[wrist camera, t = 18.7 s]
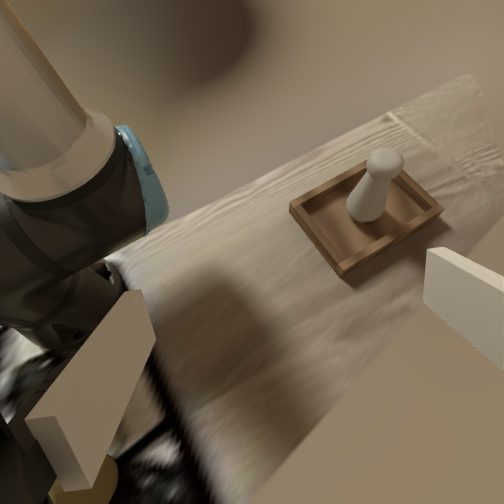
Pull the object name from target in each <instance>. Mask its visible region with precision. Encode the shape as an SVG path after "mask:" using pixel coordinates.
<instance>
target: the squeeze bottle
mask: <svg viewBox="0 0 504 504" xmlns="http://www.w3.org/2000/svg"><path fill="white" fill-rule="evenodd" d="M117 482H118V469H117V465H116V463H115V461H114V459H113V458H112V457H111V456H109V455H108V454H106V456H105V459H104V461H103V463H102V466H101V468H100V470H99V472H98V475H97V477H96V479H95V482H94V484H93V486H92V488H91V489H83V490H76V491H68V492H64V490H63V488H62V487H61V485H60V483H59V481H58V479H57V478H56V480H55V482H54V484H53V486H52V488H51V489H50V491H49V493H48V494H49V496H50V498H51V499H52V501H53V504H108V503H109V501H110V499H111V497H112V495H113V493H114V492H115V490H116V488H117Z"/></svg>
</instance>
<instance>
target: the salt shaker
mask: <svg viewBox="0 0 504 504" xmlns="http://www.w3.org/2000/svg"><path fill="white" fill-rule="evenodd" d="M403 165H404V160H403V157H402V155H401V154H400V153H399V152H398V151H396V150H395V149H393V148H388V147H384V148H378V149H376V150H375V151H373V152H372V153H371V155H370V157H369V158H368V160H367V163H366V166H367V172H366V173H365V175H364V176H363V177H362V179H361V180H360V182H359V183H358V184H357V186H356V187H355V188H354V190H353V191H352V192H351V193H350V195H349V197H348V198H347V200H346V209H347V211H348V213H349V214H350V218H351V219H352V220H354V221H356V222H358V223H360V224H362V223H365V222H370V221H374V220H375V219H377V218H379V217H380V216H381V215H382V213H383V211H384V209H385V205H386V200H387V196H388V191H389V187H390V182H391V179H393V178H395V177H397V176H398V174H399V173H400V171H401V169H402V168H403Z"/></svg>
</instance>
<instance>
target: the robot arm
mask: <svg viewBox="0 0 504 504" xmlns="http://www.w3.org/2000/svg"><path fill="white" fill-rule="evenodd" d="M168 215H169V205H168V202H167V199H166V196H165V193H164V191H163V188H162V186H161V183H160V181H159V179H158V177H157V175H156V173H155V171H154V170H153V167H152V165H151V163H150V161H149V158H148V156H147V154H146V152H145V150H144V148H143V146H142V145H141V143H140V141H139V139H138V138H137V136H136V135H135V133H134V132H133V131H132V129H131V128H130V127H128V126H126V125H123V126H116V127H114V126H113V124H112V123H111V121H110V120H109V119H108V118H107V117H106V116H105V115H104V114H102V113H101V112H98V111H96V110H93V109H89V108H84V107H81V106H80V105H79V103H78V102H77V100H76V99H75V98H74V96H73V94H72V93H71V92H70V90H69V89H68V87H67V86H66V85H65V83H64V82H63V80H62V79H61V78H60V76H59V75H58V73H57V72H56V70H55V69H54V67H53V66H52V65H51V63H50V62H49V61H48V59H47V57H46V56H45V55H44V53H43V52H42V50H41V49H40V48H39V46H38V45H37V44H36V42H35V40H34V39H33V38H32V36H31V35H30V33H29V32H28V30H27V29H26V28H25V26H24V25H23V23H22V22H21V20H20V19H19V18H18V16H17V15H16V13H15V12H14V11H13V9H12V8H11V6H10V5H9V3H8V2H7V1H6V0H0V325H1V326H7V327H11V328H14V329H16V330H17V331H18V332H19V333H21V334H22V335H23V336H24V337H26V338H27V339H28V340H30V341H31V342H32V343H34V344H35V345H37V346H40V347H42V348H46V349H52V350H58V351H69V350H75V349H78V348H80V349H79V351H78V352H77V353H76V354H75V356H74V357H72V358H67V359H66V360H64V361H63V362H62V363H61V364H59V365H58V366H57V367H55V368H54V369H53V370H52V371H51V372H50V374H49V375H48V376H47V377H46V378H45V380H44V381H43V384H40V386H39V387H38V388H37V389H36V390H35V393H34V394H32V395H31V396H30V398H29V399H28V400H27V401H26V402H25V404H24V405H23V406H22V407H21V408H20V410H19V411H18V412H17V413H16V414H15V416H14V417H13V418H12V419H11V420H10V422H9V423H8V424H7V423H6V421H5V420H4V418H3V416H2V415H1V413H0V504H53V501H52V499H51V498H50V496H49V494H48V493H49V491H50V489H51V488H52V486H53V484H54V482H55V480H56V478H57V479H58V481H59V483H60V485H61V487H62V488H63V490H64V492H68V491H76V490H83V489H91V488H92V486H93V484H94V482H95V479H96V477H97V475H98V472H99V470H100V468H101V466H102V463H103V461H104V459H105V456H106V454H107V452H108V449H109V447H110V445H111V442H112V440H113V438H114V436H115V433H116V431H117V429H118V426H119V424H120V422H121V419H122V417H123V415H124V412H125V410H126V408H127V405H128V403H129V401H130V399H131V396H132V394H133V392H134V389H135V387H136V385H137V382H138V380H139V378H140V375H141V373H142V371H143V368H144V366H145V364H146V362H147V359H148V357H149V355H150V352H151V350H152V348H153V345H154V343H155V341H156V337H155V333H154V330H153V327H152V323H151V320H150V317H149V313H148V310H147V307H146V304H145V300H144V297H143V294H142V290H133V291H126V292H124V293H123V284H122V280H121V277H120V275H119V273H118V271H117V270H116V269H115V267H114V266H112V265H111V264H110V263H109V262H107V261H106V260H104V259H103V258H105V257H106V256H108V255H110V254H112V253H114V252H116V251H117V250H119V249H121V248H123V247H125V246H127V245H129V244H130V243H132V242H134V241H136V240H138V239H140V238H141V237H144V236H146V235H147V234H148V233H149V232H150V231H152V230H153V229H155V228H156V227H158V226H159V225H161V224H162V223H164V222H165V221H166V220H167V218H168ZM423 303H424V304H426V305H427V306H428V307H429V308H430V309H431V310H433V311H434V312H435V313H436V314H437V315H438V316H440V317H441V318H442V319H443V320H444V321H445V322H447V323H448V324H449V325H450V326H451V327H452V328H453V329H455V330H456V331H457V332H458V333H459V334H461V335H462V336H463V337H464V338H465V339H466V340H467V341H468V342H470V343H471V344H472V345H473V346H474V347H475V348H477V349H478V350H479V351H480V352H481V353H482V354H484V355H485V356H486V357H487V358H488V359H489V360H490V361H492V362H493V363H494V364H495V365H496V366H497V367H499V368H500V369H501V370H502V371H503V372H504V277H503V276H501V275H499V274H497V273H495V272H492V271H491V270H489V269H487V268H485V267H483V266H481V265H479V264H477V263H475V262H473V261H471V260H469V259H467V258H465V257H463V256H461V255H459V254H457V253H455V252H453V251H451V250H449V249H447V248H445V247H439V248H432V249H427V256H426V268H425V281H424V294H423Z"/></svg>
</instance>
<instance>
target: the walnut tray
mask: <svg viewBox="0 0 504 504" xmlns="http://www.w3.org/2000/svg"><path fill="white" fill-rule="evenodd" d="M367 160H368V159H367ZM367 160H366V161H364V162H362V163H360V164H358V165H356V166H355V167H353V168H351V169H349V170H347V171H346V172H344V173H342V174H340V175H338V176H336V177H335V178H333V179H331V180H329V181H327V182H325V183H324V184H322V185H320V186H318V187H316V188H314V189H313V190H311V191H309V192H307V193H305V194H303V195H302V196H300V197H298V198H296V199H294V200H292V201H291V202H290V205H289V212H290V214H291V215H292V216H293V218H294V219H295V220H296V222H297V223H298V224H299V226H300V227H301V228H302V229H303V231H304V232H305V233H306V235H307V236H308V237H309V239H310V240H311V241H312V242H313V244H314V245H315V246H316V248H317V249H318V250H319V252H320V253H321V254H322V255H323V257H324V258H325V259H326V261H327V262H328V263H329V265H330V266H331V267H332V268H333V270H334V271H335V272H336V274H337V275H338V276H339V277H341V276H343V275H344V274H346V273H348V272H349V271H351V270H353V269H354V268H356V267H357V266H359V265H361V264H362V263H364V262H366V261H367V260H369V259H371V258H372V257H374V256H376V255H377V254H379V253H380V252H382V251H384V250H385V249H387V248H389V247H390V246H392V245H394V244H395V243H397V242H399V241H400V240H402V239H403V238H405V237H407V236H408V235H410V234H412V233H413V232H415V231H417V230H418V229H420V228H422V227H423V226H425V225H426V224H428V223H430V222H431V221H433V220H435V219H436V218H437V217H438V216H439V215H440V214H441V213H442V211H443V210H444V208H443V207H442V206H441V205H440V204H439V203H438V202H437V201H436V200H434V199H433V198H432V197H431V196H430V195H429V194H428V193H427V192H426V191H425V190H424V189H423V188H422V187H421V186H420V185H418V184H417V183H416V182H415V181H414V180H413V179H412V178H411V177H410V176H409V175H408V174H407V173H406V172H405V171H404V170H402V169H401V171H400V173H399V174H398V176H397V177H395V178H393V179H391V182H390V187H389V191H388V196H387V200H386V205H385V209H384V211H383V213H382V215H381V216H380V217H379V218H377V219H375V220H374V221H370V222H365V223H362V224H360V223H358V222H356V221H354V220H352V219H351V218H350V214H349V213H348V211H347V209H346V200H347V198H348V197H349V195H350V193H351V192H352V191H353V190H354V188H355V187H356V186H357V184H358V183H359V182H360V180H361V179H362V177H363V176H364V175H365V173H366V172H367V166H366V163H367Z"/></svg>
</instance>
